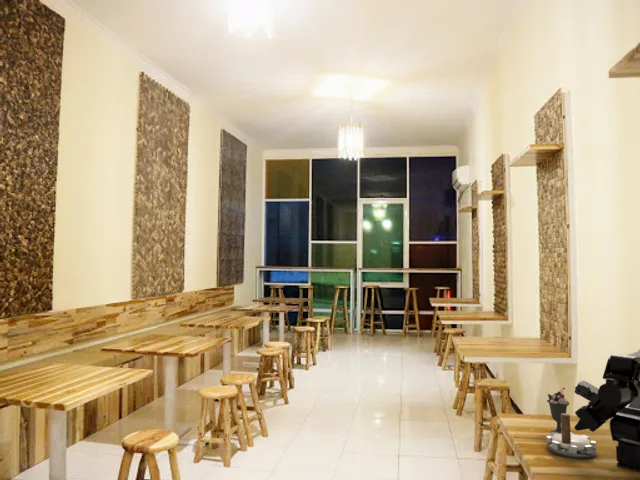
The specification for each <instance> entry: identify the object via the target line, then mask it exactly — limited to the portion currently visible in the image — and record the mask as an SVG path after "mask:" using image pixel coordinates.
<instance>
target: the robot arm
mask: <svg viewBox="0 0 640 480" xmlns="http://www.w3.org/2000/svg"><path fill="white" fill-rule="evenodd" d="M602 380H605V383H603V384H601V385H600V386H599V388H598V387H597V386H595V385H593V384H592V383H589V382H588V381H585V380H581V381H579V382H578V383H577V385H576V386H575V387H574V389H575V390H574V394H576V395H577V396H580V397H582V398H584V399H585V400H587V401H588V402H587V404H586V405H582V406H581V407H579V408H578V409H577V410H576V411H574V414H575V415H576V417H577V418H578V419H579V420H578V422H577V423H576V424H575V426H574V430H576V431H577V432H578V431H585V430H589V431H590V432H592V433H594V432H595V431H596V430H598V429H599V428H601V427H602V426H603V425H604V424H605V423H606V422H607V421H608V420H610V421H609V431H610V436H611V440H612V441H614V442H617V445H615V454H616V461H617V463H616V466H617V467H621V468H625V469H629V470H630V469H631V470H634V471H638V472H640V349H638V350H637V351H635V352H632V353H629V354H626V355H625V354H617V353H612V354H611V355H610V356H609V357H608V359H607V362H606V365H605V368H604V372H603V376H602Z"/></svg>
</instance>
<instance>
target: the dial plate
mask: <svg viewBox="0 0 640 480" xmlns="http://www.w3.org/2000/svg"><path fill="white" fill-rule="evenodd" d="M555 434H559V433H557V432H552V433H551V432H550V435H546V448H547V450H548V451H549V452H550V451H551V452H550V453H552V454H554V455H556V456H560V457H562V458H566V459H567V458H568V459H571V460H572V459H573V460H590V459H593V458H595V457H597V443H596V440H590V439H591V437H590V436H588V435H585V434H583V435H582V434H581V435H580V436H582V437H585V438H587V439H588V440H589V441H590V445H585V446H584V451H577V448H576V446H573V445H568V450H567V449H563V448H560V443H559V442H557V441H552V436H553V435H555ZM571 434H574V432H571Z"/></svg>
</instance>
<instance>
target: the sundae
mask: <svg viewBox="0 0 640 480" xmlns="http://www.w3.org/2000/svg"><path fill="white" fill-rule="evenodd" d="M564 390H566V387H563V388H561V389H560V390H559V391H557V392H555V393H553V394H549V393H547V397H548V399H547V400H546V402H547V403H548V404H549V410H550V415H551V418H552V419H553V421H555V422H556V429H551V431H550V434H551V433H552V432H557V433H559V434H560V433H561V414H563V413H564V414H567V407H568V406H569V405H570V402H569V401H568V400H567V398H566V397H565V394H564V393H563V391H564Z"/></svg>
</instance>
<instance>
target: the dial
mask: <svg viewBox="0 0 640 480" xmlns="http://www.w3.org/2000/svg"><path fill="white" fill-rule="evenodd" d="M552 441H557V442H559V443H560V448H563V449H567V450H568V445H573V446H576V448H577V451H584V446H585V445H590V444H591V440H590V441H589V440H588V439H587V438H585V437H582V436H581V435H578V434H574V433H573V434H571V416H570V414H569V413H566V414H564V413H563V414H561V433H560V434H555V435H553V436H552Z"/></svg>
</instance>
